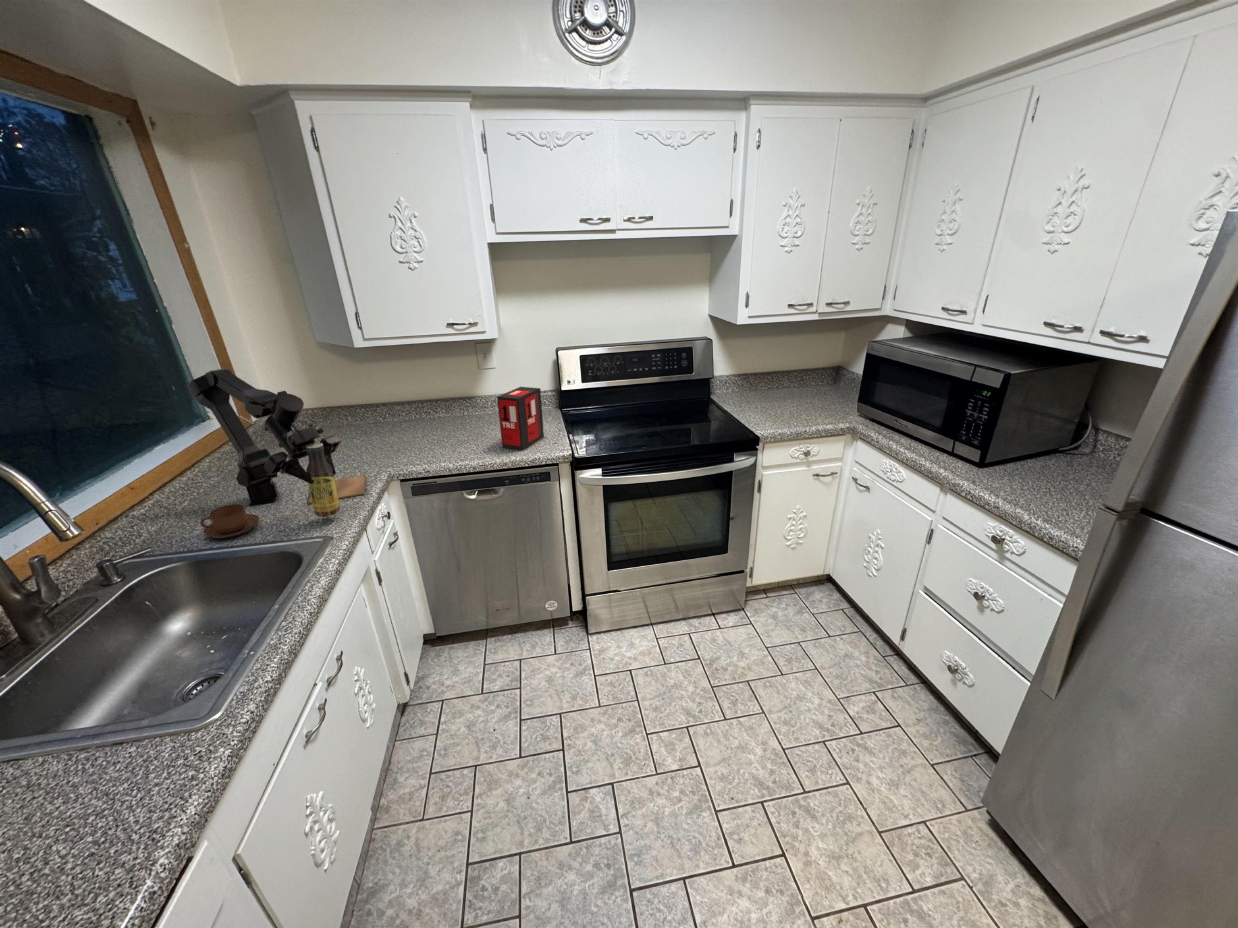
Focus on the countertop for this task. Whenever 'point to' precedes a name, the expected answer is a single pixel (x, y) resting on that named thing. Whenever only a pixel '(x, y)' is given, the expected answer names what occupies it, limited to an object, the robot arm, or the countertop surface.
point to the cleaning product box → (520, 417)
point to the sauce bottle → (321, 482)
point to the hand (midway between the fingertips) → (323, 478)
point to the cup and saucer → (229, 521)
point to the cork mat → (348, 487)
